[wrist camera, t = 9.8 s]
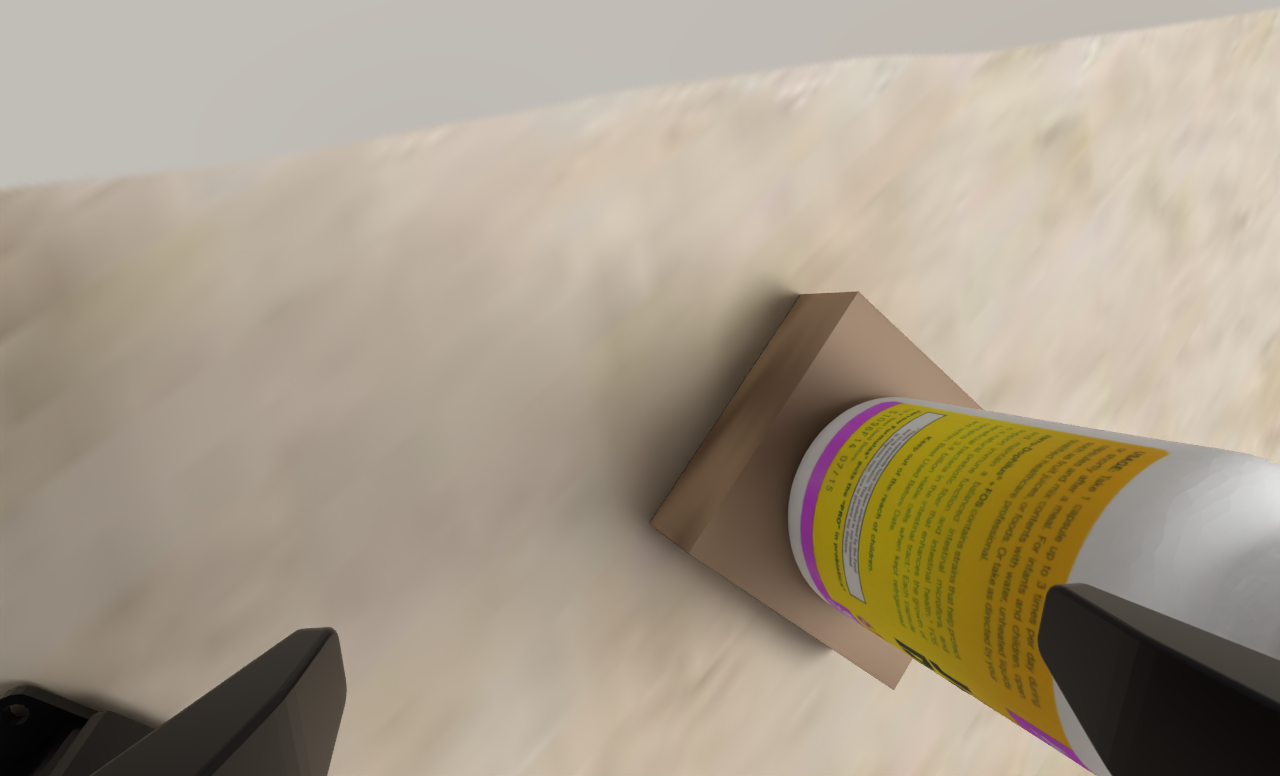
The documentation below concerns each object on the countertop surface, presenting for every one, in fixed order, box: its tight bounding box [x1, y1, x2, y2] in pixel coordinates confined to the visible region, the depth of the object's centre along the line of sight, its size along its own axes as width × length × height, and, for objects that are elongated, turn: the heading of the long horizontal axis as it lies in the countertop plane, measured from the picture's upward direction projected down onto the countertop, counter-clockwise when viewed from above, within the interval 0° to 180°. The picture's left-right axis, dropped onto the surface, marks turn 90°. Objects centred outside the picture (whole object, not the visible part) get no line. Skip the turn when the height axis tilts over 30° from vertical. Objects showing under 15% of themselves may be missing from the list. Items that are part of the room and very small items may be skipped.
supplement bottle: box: [788, 397, 1280, 776], centre depth 15 cm, size 7×7×13 cm
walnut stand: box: [649, 292, 983, 690], centre depth 23 cm, size 9×9×3 cm
